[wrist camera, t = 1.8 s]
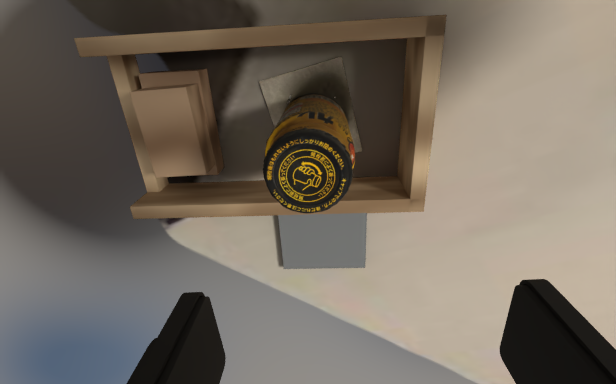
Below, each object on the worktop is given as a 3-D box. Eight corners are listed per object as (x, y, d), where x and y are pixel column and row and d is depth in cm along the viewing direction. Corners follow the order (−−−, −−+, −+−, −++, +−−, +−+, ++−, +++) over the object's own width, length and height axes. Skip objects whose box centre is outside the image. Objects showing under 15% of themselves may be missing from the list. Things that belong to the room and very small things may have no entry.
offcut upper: (146, 87, 26) (129, 92, 24) (197, 83, 25) (185, 87, 23) (169, 167, 29) (156, 177, 26) (215, 164, 28) (206, 174, 26)
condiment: (288, 169, 31) (269, 237, 20) (259, 81, 27) (216, 104, 16) (362, 150, 29) (385, 211, 19) (341, 56, 26) (354, 63, 15)
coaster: (276, 193, 32) (276, 196, 31) (366, 191, 31) (367, 193, 31) (284, 265, 35) (283, 268, 35) (364, 264, 35) (365, 267, 34)
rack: (116, 39, 26) (73, 38, 22) (423, 20, 25) (446, 14, 20) (160, 194, 32) (133, 218, 28) (408, 187, 31) (423, 211, 26)
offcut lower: (153, 71, 28) (138, 74, 25) (208, 68, 27) (198, 70, 25) (176, 167, 31) (165, 176, 29) (225, 165, 31) (217, 174, 29)
